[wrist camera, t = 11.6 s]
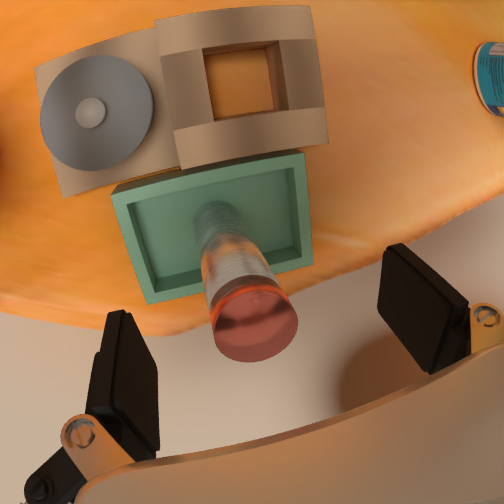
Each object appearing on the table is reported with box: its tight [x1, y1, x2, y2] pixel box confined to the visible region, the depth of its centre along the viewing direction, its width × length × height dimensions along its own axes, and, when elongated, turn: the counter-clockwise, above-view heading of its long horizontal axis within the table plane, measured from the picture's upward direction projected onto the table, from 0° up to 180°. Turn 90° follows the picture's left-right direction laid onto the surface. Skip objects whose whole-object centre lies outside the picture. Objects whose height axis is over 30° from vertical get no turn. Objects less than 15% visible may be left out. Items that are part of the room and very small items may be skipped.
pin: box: [193, 201, 298, 362], centre depth 17 cm, size 3×3×12 cm
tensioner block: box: [34, 6, 329, 198], centre depth 16 cm, size 17×9×4 cm, turn 98°
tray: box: [110, 148, 313, 305], centre depth 21 cm, size 12×8×2 cm, turn 98°
